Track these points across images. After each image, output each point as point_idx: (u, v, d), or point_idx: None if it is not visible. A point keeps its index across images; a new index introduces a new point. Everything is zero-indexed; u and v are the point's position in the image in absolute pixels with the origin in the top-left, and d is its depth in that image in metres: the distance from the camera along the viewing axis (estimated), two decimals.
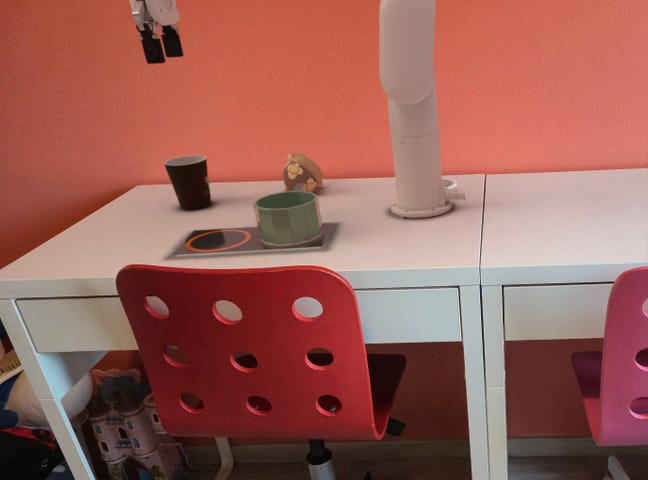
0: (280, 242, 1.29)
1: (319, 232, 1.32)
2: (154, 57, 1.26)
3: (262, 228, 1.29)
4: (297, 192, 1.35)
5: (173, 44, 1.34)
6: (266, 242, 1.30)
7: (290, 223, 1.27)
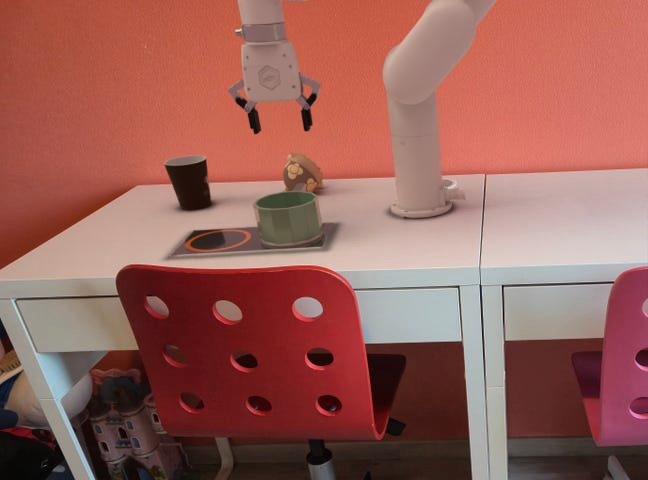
0: (280, 242, 1.29)
1: (319, 232, 1.32)
2: (251, 127, 1.36)
3: (262, 228, 1.29)
4: (297, 192, 1.35)
5: None
6: (266, 242, 1.30)
7: (290, 223, 1.27)
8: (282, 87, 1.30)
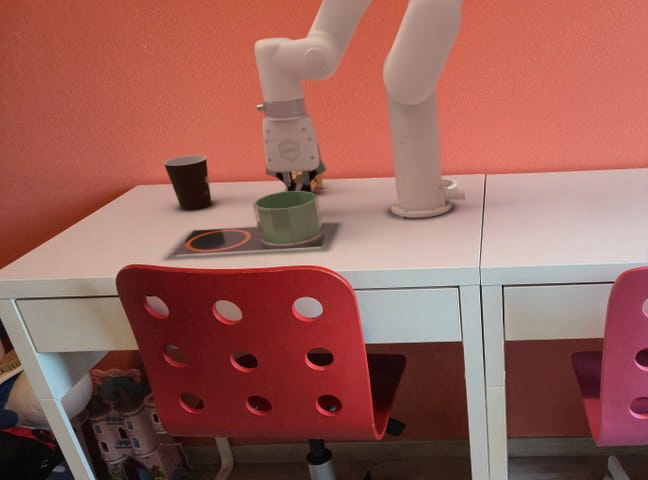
0: (280, 242, 1.29)
1: (319, 232, 1.32)
2: None
3: (262, 228, 1.29)
4: (297, 192, 1.35)
5: None
6: (266, 242, 1.30)
7: (290, 223, 1.27)
8: (301, 158, 1.37)
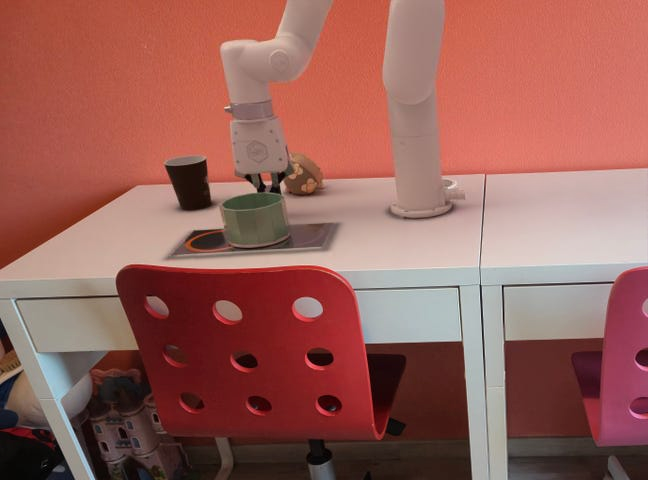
0: (246, 243, 1.29)
1: (286, 233, 1.32)
2: None
3: (228, 229, 1.29)
4: (265, 193, 1.35)
5: None
6: (232, 243, 1.30)
7: (255, 224, 1.27)
8: (269, 160, 1.37)
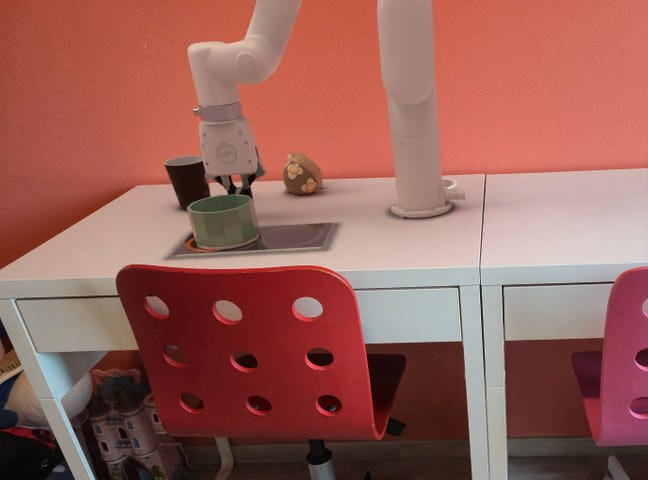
0: (214, 245, 1.29)
1: (254, 235, 1.32)
2: None
3: (196, 231, 1.29)
4: (234, 195, 1.35)
5: None
6: (200, 245, 1.30)
7: (223, 226, 1.27)
8: (239, 162, 1.37)
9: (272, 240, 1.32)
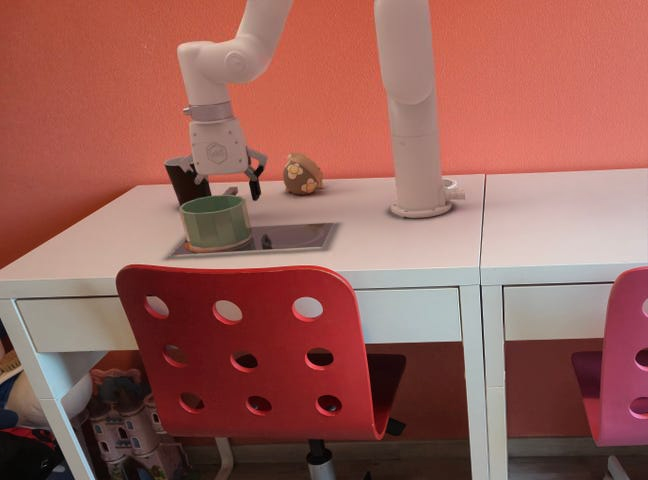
0: (206, 246, 1.29)
1: (247, 236, 1.32)
2: None
3: (188, 232, 1.29)
4: (226, 196, 1.35)
5: None
6: (193, 246, 1.30)
7: (215, 227, 1.27)
8: (229, 161, 1.36)
9: (272, 240, 1.32)
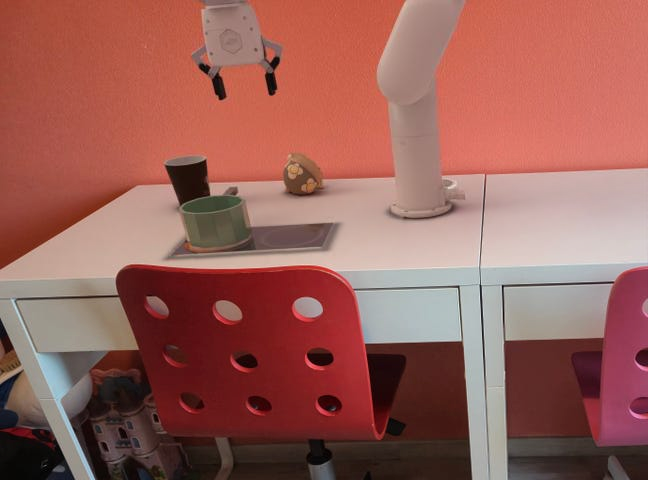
0: (206, 246, 1.29)
1: (247, 236, 1.32)
2: None
3: (188, 232, 1.29)
4: (226, 196, 1.35)
5: None
6: (193, 246, 1.30)
7: (215, 227, 1.27)
8: (244, 50, 1.30)
9: (272, 240, 1.32)
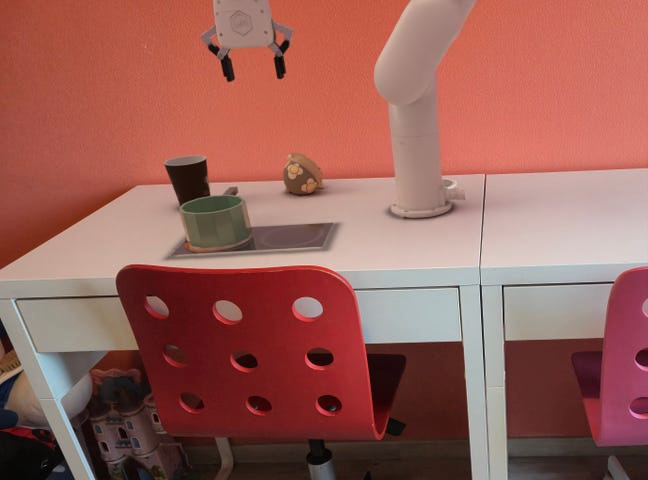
0: (206, 246, 1.29)
1: (247, 236, 1.32)
2: None
3: (188, 232, 1.29)
4: (226, 196, 1.35)
5: None
6: (193, 246, 1.30)
7: (215, 227, 1.27)
8: (254, 33, 1.31)
9: (272, 240, 1.32)
